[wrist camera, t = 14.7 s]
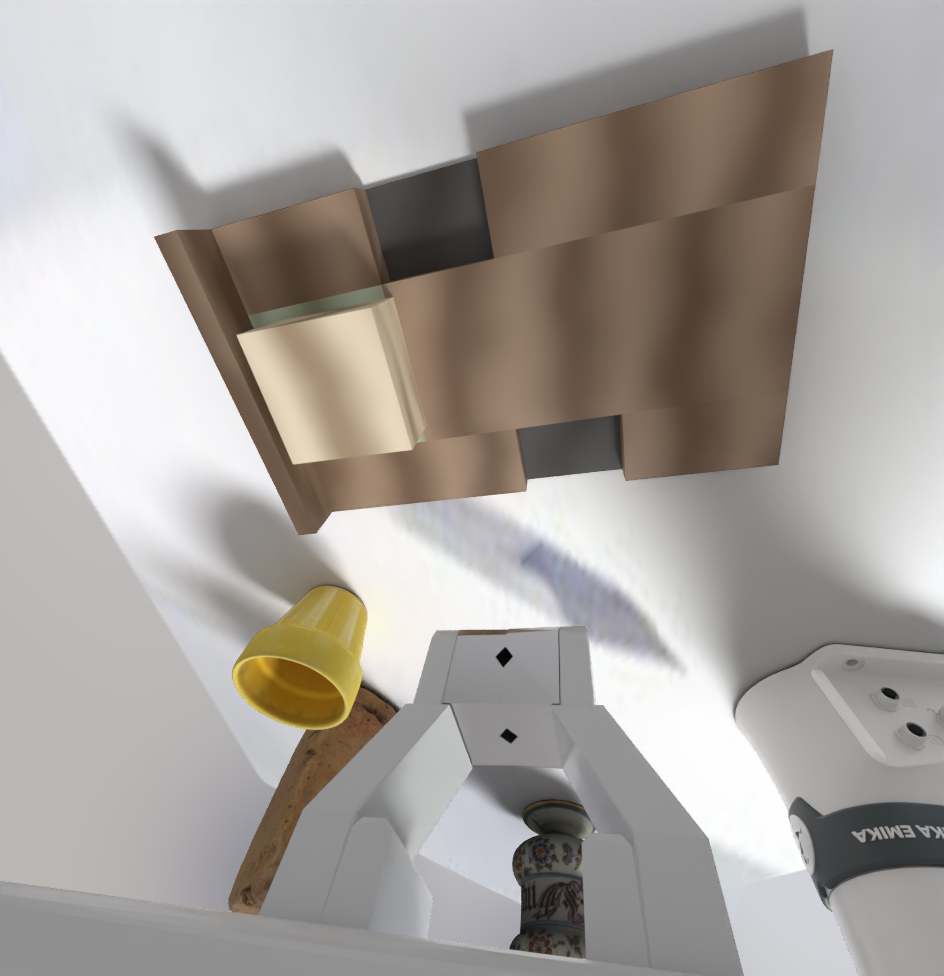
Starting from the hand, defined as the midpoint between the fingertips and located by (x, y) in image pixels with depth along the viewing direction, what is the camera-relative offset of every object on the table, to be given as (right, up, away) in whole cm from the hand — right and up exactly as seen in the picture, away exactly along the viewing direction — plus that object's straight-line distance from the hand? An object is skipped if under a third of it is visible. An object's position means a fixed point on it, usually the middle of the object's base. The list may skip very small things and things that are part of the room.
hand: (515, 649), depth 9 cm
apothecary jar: (+11, -41, +52) cm, 67 cm away
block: (-13, -23, +45) cm, 52 cm away
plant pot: (-15, -9, +37) cm, 41 cm away
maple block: (-9, +11, +21) cm, 26 cm away
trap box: (+1, +13, +21) cm, 25 cm away
